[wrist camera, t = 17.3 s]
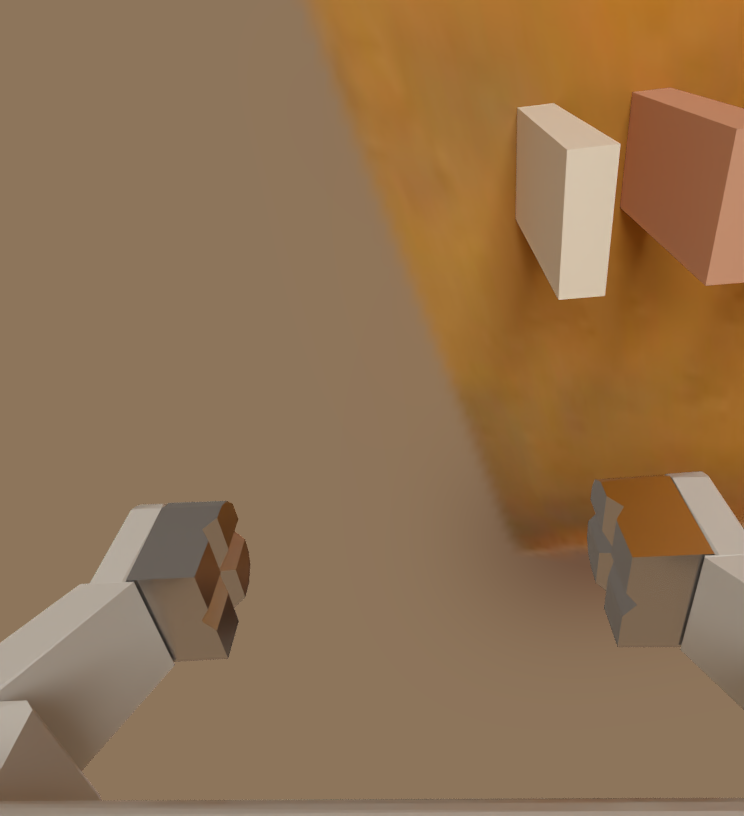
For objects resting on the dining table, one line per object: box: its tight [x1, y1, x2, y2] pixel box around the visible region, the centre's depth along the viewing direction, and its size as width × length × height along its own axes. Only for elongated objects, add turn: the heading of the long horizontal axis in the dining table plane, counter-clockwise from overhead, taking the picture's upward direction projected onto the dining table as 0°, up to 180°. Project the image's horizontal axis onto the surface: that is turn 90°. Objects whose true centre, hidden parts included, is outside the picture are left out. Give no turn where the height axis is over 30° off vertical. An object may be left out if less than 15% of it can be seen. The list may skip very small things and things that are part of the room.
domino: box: [620, 88, 744, 286], centre depth 23 cm, size 2×5×10 cm, turn 7°
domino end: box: [516, 103, 620, 300], centre depth 24 cm, size 2×5×10 cm, turn 7°
